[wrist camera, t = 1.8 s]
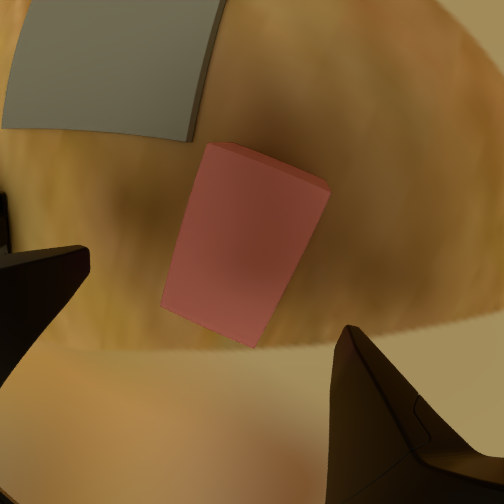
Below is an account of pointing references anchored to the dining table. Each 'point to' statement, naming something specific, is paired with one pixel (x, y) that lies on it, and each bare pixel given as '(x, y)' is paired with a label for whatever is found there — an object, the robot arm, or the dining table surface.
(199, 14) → the mat
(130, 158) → the dining table surface
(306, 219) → the red block
